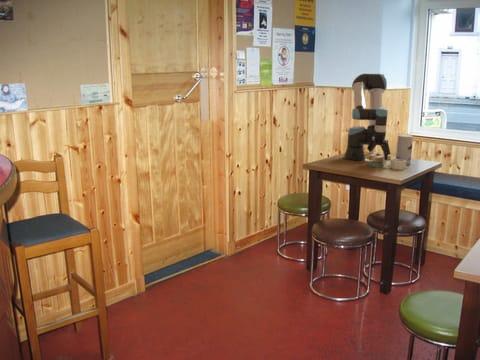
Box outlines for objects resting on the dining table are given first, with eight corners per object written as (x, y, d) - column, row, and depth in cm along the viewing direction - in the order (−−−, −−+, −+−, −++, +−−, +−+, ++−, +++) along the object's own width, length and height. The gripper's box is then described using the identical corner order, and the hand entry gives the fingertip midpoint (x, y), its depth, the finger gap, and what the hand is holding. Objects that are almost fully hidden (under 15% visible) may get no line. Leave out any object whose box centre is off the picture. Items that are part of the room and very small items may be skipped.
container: (411, 165, 356) (413, 136, 351) (396, 164, 358) (398, 136, 353) (409, 162, 366) (412, 134, 361) (395, 161, 368) (397, 134, 363)
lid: (365, 158, 352) (365, 153, 351) (377, 156, 358) (378, 151, 357) (377, 162, 342) (378, 156, 341) (390, 160, 348) (391, 154, 347)
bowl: (387, 167, 349) (388, 159, 347) (397, 166, 353) (398, 158, 352) (398, 170, 341) (398, 162, 339) (408, 168, 345) (408, 160, 344)
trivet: (370, 166, 352) (371, 161, 351) (377, 165, 355) (377, 160, 354) (377, 167, 347) (377, 162, 346) (383, 166, 350) (384, 162, 349)
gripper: (363, 128, 353) (361, 159, 359) (389, 134, 333) (386, 166, 339) (371, 128, 357) (368, 158, 363) (397, 133, 337) (394, 165, 343)
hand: (377, 162), depth 351 cm, fingers closed on lid, 12 cm apart
